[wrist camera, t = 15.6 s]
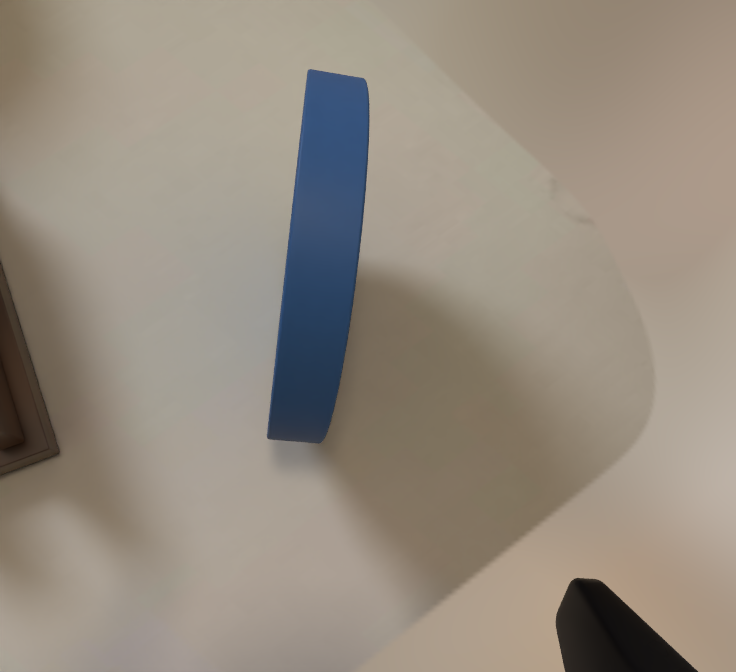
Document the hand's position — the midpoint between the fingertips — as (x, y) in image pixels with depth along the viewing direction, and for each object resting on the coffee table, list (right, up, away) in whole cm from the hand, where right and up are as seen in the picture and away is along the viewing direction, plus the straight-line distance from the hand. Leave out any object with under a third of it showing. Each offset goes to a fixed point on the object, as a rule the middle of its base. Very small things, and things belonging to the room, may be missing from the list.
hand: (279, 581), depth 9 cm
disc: (-1, +3, +15) cm, 16 cm away
